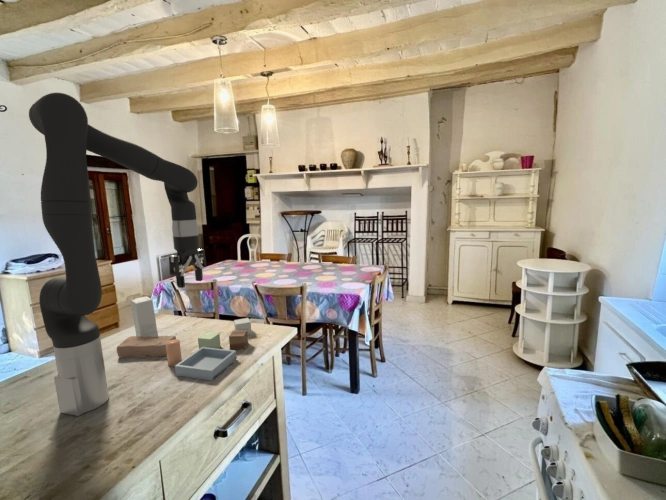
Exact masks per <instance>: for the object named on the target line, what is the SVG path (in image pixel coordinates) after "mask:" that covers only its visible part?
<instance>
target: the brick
mask: <svg viewBox="0 0 666 500" xmlns="http://www.w3.org/2000/svg"><path fill="white" fill-rule="evenodd" d="M176 339H177V337H176V335H160V336H159V335H158V337H151V336H147V337H142V336H136V335H132V336H128V337H127V338H125V339H124V340H123V341H121V342H120V343H119V345H117V347H116V353H117V356H118V358H121V359H129V358H131V359H133V358H147V357H150V358H151V357H165V356H166V357H167V351H166V342H168V341H170V340H176Z"/></svg>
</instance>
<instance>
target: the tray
mask: <svg viewBox="0 0 666 500" xmlns="http://www.w3.org/2000/svg"><path fill="white" fill-rule="evenodd" d="M236 359H237V350H230V349H225V348H224V349H223V348H218V349H216V348H207V347H201V348H200V349H199V348H198V349H197V350H196V351H194V352H193V353H192V354H190V355H188V356H187V357H185V358H184V359H182V361H181V362H180V363H178V364H177V365H175V366H174V371H175V376H178V377H184V378H193V379H199V380H207V381H212V380H213V381H215V379H216V378H217V377H219V376H220V375H221V374H222V373H223V372H224V371H226V370H227V369H228V368H229V367H230V366H231V365H232V364H233V363H234V362H236V361H237V360H236ZM235 360H236V361H235ZM227 367H228V368H227ZM219 374H220V375H219Z"/></svg>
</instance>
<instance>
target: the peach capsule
mask: <svg viewBox="0 0 666 500" xmlns="http://www.w3.org/2000/svg"><path fill="white" fill-rule="evenodd" d="M166 351H167V356H166V359H167V365H168V366H169V367H175V365H177V364H178V363H180V362H181V361H183V359H182V351H181V341H180V339H178V338H176V340H170V341H168V342H166Z"/></svg>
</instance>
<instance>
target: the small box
mask: <svg viewBox="0 0 666 500" xmlns="http://www.w3.org/2000/svg"><path fill="white" fill-rule="evenodd" d="M233 323H234V325H233V326H234V330H247V331H248V335H252V322H251V321H250V318H249V317H245V318H239V319H234V320H233Z"/></svg>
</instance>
